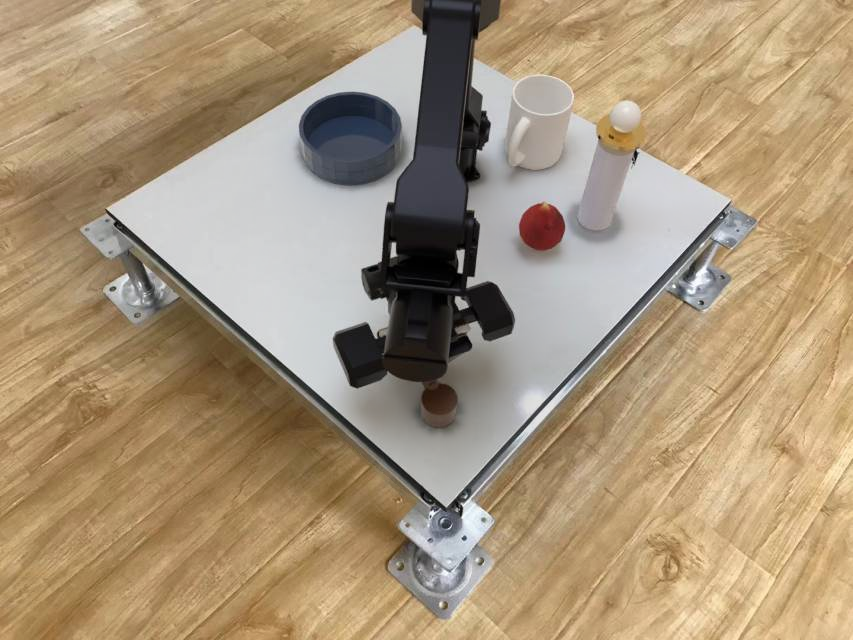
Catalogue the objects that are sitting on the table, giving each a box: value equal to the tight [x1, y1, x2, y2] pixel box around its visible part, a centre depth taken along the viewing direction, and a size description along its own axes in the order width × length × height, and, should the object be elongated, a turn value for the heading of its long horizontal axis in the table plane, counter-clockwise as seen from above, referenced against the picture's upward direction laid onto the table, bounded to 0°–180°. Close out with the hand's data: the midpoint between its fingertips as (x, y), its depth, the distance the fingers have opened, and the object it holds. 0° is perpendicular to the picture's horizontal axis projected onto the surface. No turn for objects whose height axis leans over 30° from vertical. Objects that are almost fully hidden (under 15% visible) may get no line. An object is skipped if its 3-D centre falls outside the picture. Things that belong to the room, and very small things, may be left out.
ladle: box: [420, 379, 458, 428], centre depth 87 cm, size 10×4×3 cm, turn 23°
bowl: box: [298, 91, 403, 186], centre depth 108 cm, size 14×14×4 cm
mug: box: [504, 74, 575, 171], centre depth 106 cm, size 12×8×10 cm
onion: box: [518, 201, 566, 252], centre depth 98 cm, size 6×6×8 cm
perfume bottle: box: [576, 99, 647, 231], centre depth 95 cm, size 6×6×20 cm
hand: (423, 372), depth 88 cm, fingers closed on ladle, 2 cm apart
